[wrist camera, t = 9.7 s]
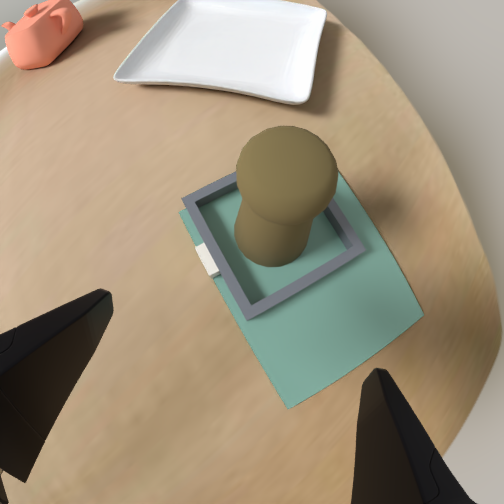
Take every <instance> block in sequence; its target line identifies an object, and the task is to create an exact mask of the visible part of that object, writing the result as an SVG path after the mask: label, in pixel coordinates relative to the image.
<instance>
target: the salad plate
mask: <svg viewBox="0 0 504 504" xmlns="http://www.w3.org/2000/svg"><path fill="white" fill-rule="evenodd" d="M326 17H327V12H326V10H324V9H321V8H317V7H313V6H308V5H304V4H299V3H293V2H287V1H281V0H178V1H177V2H176V3H174V4H173V5H172V6H171V7H170V8H169V9H168V10H167V11H166V12H165V14H164V15H163V16H162V17H161V18H160V19H159V20H158V21H157V22H156V23H155V24H154V25H153V27H152V28H151V29H150V30H149V31H148V32H147V33H146V34H145V36H144V37H143V38H142V39H141V40H140V42H139V43H138V44H137V45H136V46H135V48H134V49H133V50H132V51H131V52H130V54H129V55H128V56H127V57H126V59H125V60H124V61H123V62H122V64H121V65H120V66H119V68H118V69H117V71H116V72H115V74H114V76H113V78H114V80H115V81H117V82H120V83H124V84H154V85H179V86H190V87H200V88H209V89H216V90H224V91H230V92H235V93H240V94H245V95H250V96H255V97H259V98H263V99H267V100H271V101H275V102H280V103H285V104H291V105H298V104H303V103H305V102H306V101H307V100H308V99H309V97H310V94H311V90H312V85H313V79H314V72H315V65H316V59H317V52H318V48H319V43H320V38H321V35H322V31H323V28H324V24H325V21H326Z"/></svg>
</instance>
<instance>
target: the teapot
mask: <svg viewBox="0 0 504 504" xmlns="http://www.w3.org/2000/svg"><path fill="white" fill-rule="evenodd" d="M24 15H25V16H24V17H23V18H22V19H21V20H19V22H17V23H16V24H14V23H12V22H6V23H4V24H3V25H2V27H5V28H7V29H8V30H9V32H8V33H7V34H6V36H5V41H6V45H7V49H8V52H9V55H10V57H11V59H12V61H13V63H14V64H15V65H16V66H17V67H18V68H20V69H22V70H25V69H33V68H39V67H43V66H47V65H49V64H50V63H51V62H52V61H53V60H54V59H55V58H56V57H57V56H58V55H59V54H60V53H61V52H62V51H63V50H64V49H65V48H66V47H67V46H68V45H69V44H70V43H71V42H72V41H73V40H74V39H75V37H76V36H77V35H78V34H79V33H80V32H81V30H82V29H83V19H82V17H81V15H80V13H79V12H78V10H77V9H76V7H75V6H74V5H73V4H72V3H71V1H70V0H48V1H46V2H43V3H40V4H36V5H33V6H31V7H30V8H29V9H27V10H26V11H25V12H24Z"/></svg>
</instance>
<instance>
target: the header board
mask: <svg viewBox="0 0 504 504" xmlns="http://www.w3.org/2000/svg"><path fill="white" fill-rule="evenodd" d="M181 199H182V201H183V203H184V205H185V207H186V209H184V210H182V211H180V212H179V214H180V216H181V218H182V220H183V222H184V224H185V226H186V228H187V230H188V232H189V234H190V236H191V238H192V240H193V242H194V244H195V246H196V247H195V249H196V251H197V253H198V255H199V257H200V259H201V261H202V263H203V265H204V267H205V268H206V270H207V272H208V274H209V276H210V277H211V279H212V278H213V280H214V282H215V284H216V285H217V287H218V289H219V291H220V293H221V295H222V296H223V298H224V300H225V302H226V304H227V306H228V307H229V309H230V311H231V313H232V315H233V316H234V318H235V320H236V322H237V324H238V325H239V327H240V329H241V331H242V332H243V334H244V336H245V338H246V340H247V341H248V343H249V345H250V347H251V348H252V350H253V352H254V353H255V355H256V357H257V359H258V360H259V362H260V364H261V365H262V367H263V369H264V371H265V372H266V374H267V376H268V377H269V379H270V381H271V382H272V384H273V386H274V387H275V389H276V391H277V392H278V394H279V396H280V397H281V399H282V401H283V402H284V404H285V405H286V407H287V409H290V408H291V407H293V406H295V405H297V404H299V403H300V402H302V401H304V400H305V399H307V398H309V397H311V396H312V395H314V394H316V393H317V392H319V391H320V390H322V389H324V388H325V387H327V386H329V385H330V384H332V383H333V382H335V381H336V380H338V379H339V378H341V377H342V376H344V375H346V374H347V373H349V372H350V371H351V370H353V369H354V368H356V367H357V366H359V365H360V364H362V363H363V362H364V361H366V360H367V359H369V358H370V357H371V356H373V355H374V354H376V353H377V352H378V351H380V350H381V349H382V348H384V347H385V346H386V345H388V344H389V343H390V342H392V341H393V340H394V339H395V338H397V337H398V336H399V335H401V334H402V333H403V332H404V331H406V330H407V329H408V328H409V327H410V326H412V325H413V324H414V323H415V322H416V321H418V320H419V319H420V318H421V317H422V316H424V314H423V312H422V310H421V308H420V306H419V304H418V302H417V300H416V298H415V296H414V294H413V292H412V290H411V288H410V286H409V284H408V283H407V281H406V279H405V277H404V275H403V273H402V272H401V270H400V268H399V266H398V264H397V263H396V261H395V259H394V257H393V256H392V254H391V252H390V251H389V249H388V247H387V245H386V244H385V242H384V240H383V239H382V237H381V235H380V234H379V232H378V231H377V229H376V227H375V226H374V224H373V223H372V221H371V219H370V218H369V216H368V215H367V213H366V212H365V210H364V209H363V207H362V205H361V204H360V202H359V201H358V199H357V198H356V196H355V195H354V193H353V192H352V191H351V189H350V188H349V186H348V185H347V183H346V182H345V180H344V179H343V178H342V176H341V175H340V173H339V172H338V182H337V188H336V193H335V195H334V196H333V198H332V200H331V201H330V203H329V205H328V206H327V208H326V209H325V210H324V211H323V212H321V213H320V214H319V215H317V216H316V217H315V218H314V219H313V222H312V226H311V230H310V234H309V238H308V242H307V246H306V247H305V249H304V251H303V252H302V254H301V255H300V256H299V257H298V258H297V259H295V260H294V261H293V262H292V263H289V264H287V265H284V266H281V267H265V266H261V265H258V264H255V263H254V262H252V261H251V260H249V259H248V258H246V257H245V256H244V254H243V253H242V252H241V251H240V249H239V248H238V245H237V243H236V240H235V237H234V224H235V221H236V218H237V215H238V211H239V208H240V205H241V202H242V197H241V194H240V191H239V189H238V186H237V178H236V172H234V173H232V174H229V175H227V176H225V177H223V178H221V179H219V180H217V181H215V182H213V183H211V184H209V185H207V186H205V187H203V188H201V189H199V190H197V191H195V192H193V193H191V194H189V195H187V196H185V197H183V198H181Z"/></svg>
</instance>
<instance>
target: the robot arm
mask: <svg viewBox="0 0 504 504" xmlns="http://www.w3.org/2000/svg"><path fill="white" fill-rule="evenodd" d="M112 315H113V302H112V294H111V293H110V292H109V291H107V290H104V289H97V290H95V291H93V292H90V293H88V294H86V295H84V296H82V297H79V298H77V299H75V300H73V301H71V302H68V303H66V304H64V305H62V306H60V307H58V308H55V309H53V310H51V311H49V312H47V313H45V314H43V315H40V316H38V317H36V318H34V319H32V320H30V321H28V322H26V323H24V324H21V325H19V326H17V328H16V327H15V328H13V329H11V330H9V331H7V332H4V333H2V334H0V504H8V503H9V502H8V499H7V495H6V492H5V489H4V486H3V482H2V479H1V474H2V472H3V470H4V471H5V472H7V473H8V474H10V475H12V476H13V477H15V478H17V479H19V480H20V481H22V482H24V483H26V481H27V479H28V477H29V474H30V472H31V470H32V468H33V466H34V464H35V461H36V459H37V457H38V455H39V453H40V451H41V449H42V447H43V445H44V443H45V440H46V438H47V436H48V434H49V432H50V431H51V429H52V427H53V425H54V423H55V421H56V419H57V417H58V415H59V413H60V411H61V410H62V408H63V406H64V404H65V402H66V400H67V399H68V397H69V395H70V393H71V392H72V390H73V388H74V386H75V385H76V383H77V381H78V379H79V378H80V376H81V374H82V372H83V371H84V369H85V367H86V366H87V364H88V362H89V361H90V359H91V357H92V356H93V354H94V352H95V350H96V348H97V346H98V344H99V342H100V340H101V338H102V336H103V334H104V332H105V330H106V327H107V325H108V323H109V321H110V319H111V317H112ZM351 504H477V503H475V502H474V501H472V500H471V499H470V498H469V496H468V495H467V494H466V492H465V491H464V490H463V488H462V487H461V485H460V484H459V483H458V481H457V480H456V478H455V477H454V476H453V474H452V473H451V471H450V470H449V468H448V467H447V465H446V464H445V462H444V460H443V459H442V457H441V455H440V454H439V452H438V450H437V449H436V448H435V446H434V444H433V442H432V441H431V439H430V437H429V436H428V434H427V432H426V431H425V429H424V427H423V426H422V424H421V422H420V421H419V419H418V418H417V416H416V414H415V413H414V411H413V410H412V408H411V406H410V405H409V403H408V402H407V400H406V399H405V397H404V395H403V394H402V392H401V391H400V389H399V388H398V386H397V385H396V383H395V381H394V380H393V378H392V377H391V375H390V374H389V372H388V371H387V370H386V369H381V368H375V369H374V370H373V371H372V372H371V373H370V375H369V376H368V377H367V378H366V379H365V381H364V382H363V385H362V390H361V398H360V406H359V413H358V420H357V432H356V452H355V467H354V479H353V489H352V499H351Z"/></svg>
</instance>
